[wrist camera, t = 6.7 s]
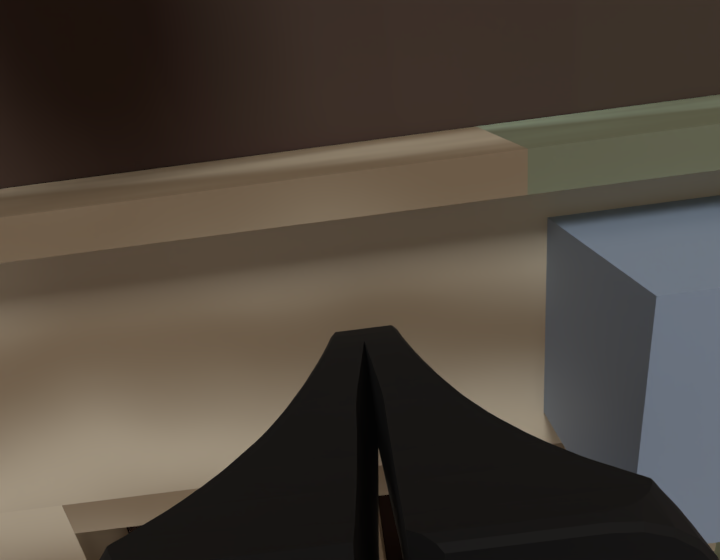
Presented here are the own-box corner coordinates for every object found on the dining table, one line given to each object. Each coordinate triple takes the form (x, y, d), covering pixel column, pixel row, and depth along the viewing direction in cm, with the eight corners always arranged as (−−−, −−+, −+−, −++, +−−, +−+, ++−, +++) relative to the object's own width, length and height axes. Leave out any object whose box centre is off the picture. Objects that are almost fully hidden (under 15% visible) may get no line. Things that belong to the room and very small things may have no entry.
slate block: (745, 386, 13) (913, 518, 9) (543, 412, 13) (627, 553, 9) (785, 186, 11) (1020, 250, 7) (547, 217, 11) (656, 296, 7)
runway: (691, 561, 18) (769, 670, 15) (12, 645, 18) (-59, 770, 15) (777, 87, 12) (940, 94, 9) (-242, 220, 12) (-451, 276, 9)
